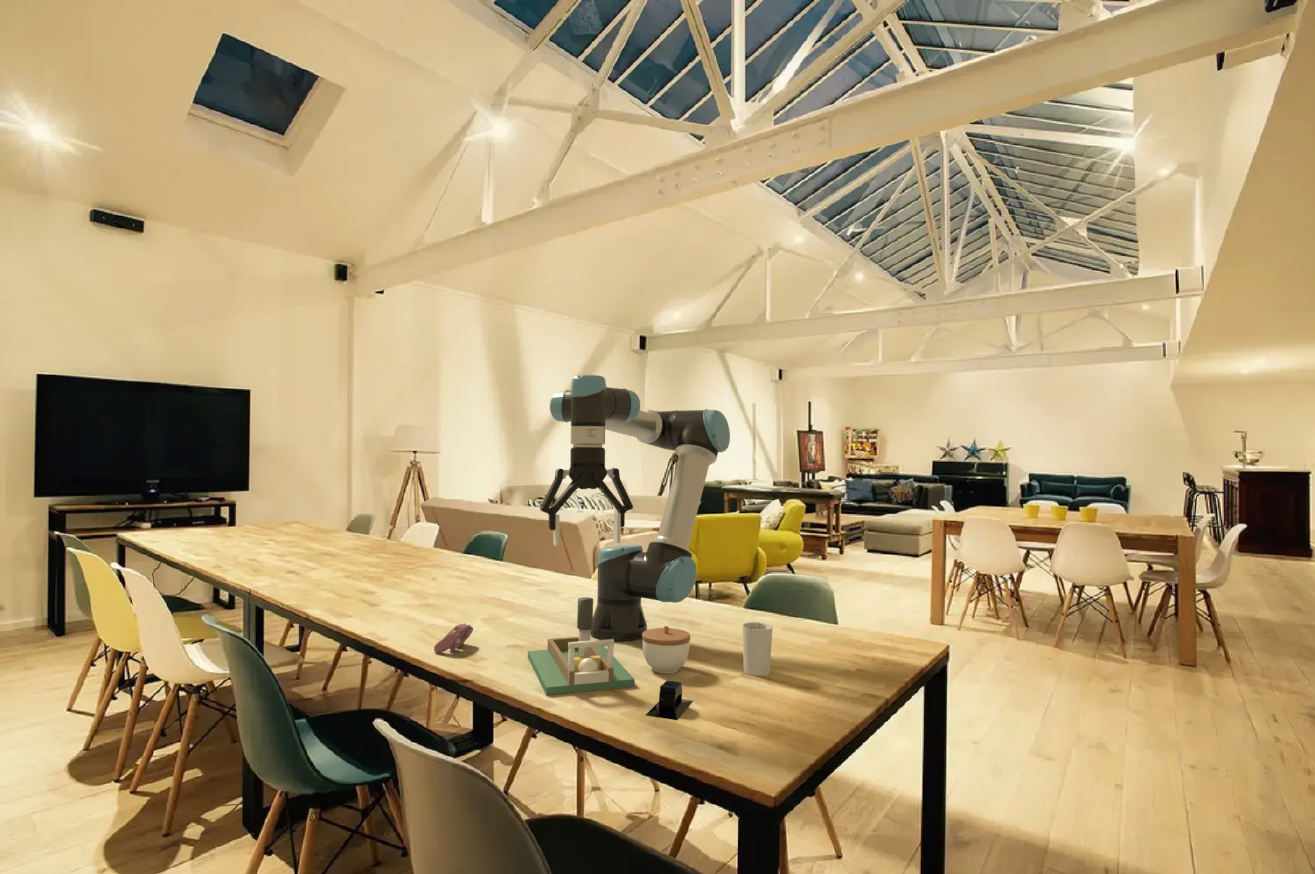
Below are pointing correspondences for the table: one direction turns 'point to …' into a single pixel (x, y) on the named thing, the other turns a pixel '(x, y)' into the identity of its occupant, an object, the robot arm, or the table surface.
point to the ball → (588, 665)
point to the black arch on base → (670, 702)
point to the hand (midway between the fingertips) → (587, 543)
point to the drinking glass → (757, 648)
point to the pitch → (559, 667)
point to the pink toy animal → (454, 638)
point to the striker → (585, 630)
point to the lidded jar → (665, 648)
